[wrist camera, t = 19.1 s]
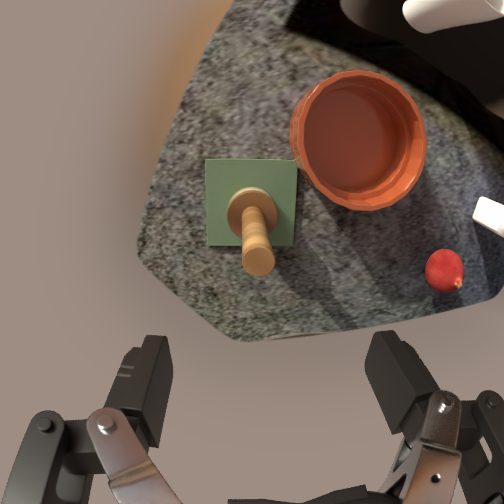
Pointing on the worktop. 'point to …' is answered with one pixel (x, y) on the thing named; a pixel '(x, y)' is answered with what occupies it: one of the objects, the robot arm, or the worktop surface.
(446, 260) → the onion
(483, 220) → the pepper shaker
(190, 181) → the worktop surface
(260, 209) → the dish brush
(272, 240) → the mat
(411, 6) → the drinking glass
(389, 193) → the bowl
